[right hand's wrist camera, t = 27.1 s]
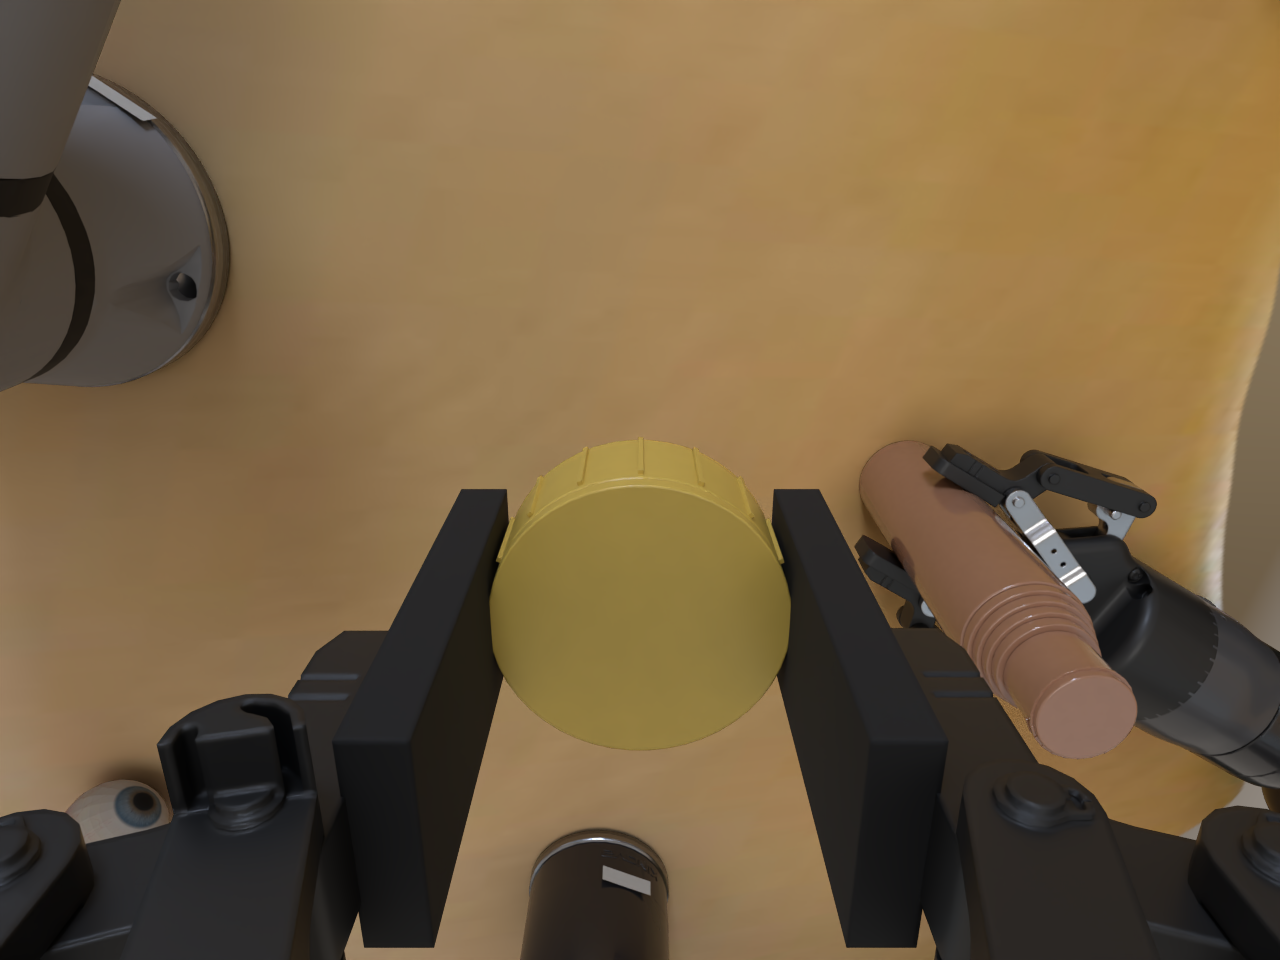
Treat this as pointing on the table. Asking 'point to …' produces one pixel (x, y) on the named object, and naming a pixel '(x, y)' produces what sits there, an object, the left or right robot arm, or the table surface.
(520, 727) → the table surface
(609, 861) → the left robot arm
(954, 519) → the bottle
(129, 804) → the eyeball
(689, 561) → the cap
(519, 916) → the table surface
